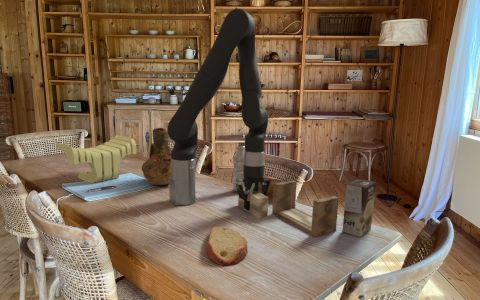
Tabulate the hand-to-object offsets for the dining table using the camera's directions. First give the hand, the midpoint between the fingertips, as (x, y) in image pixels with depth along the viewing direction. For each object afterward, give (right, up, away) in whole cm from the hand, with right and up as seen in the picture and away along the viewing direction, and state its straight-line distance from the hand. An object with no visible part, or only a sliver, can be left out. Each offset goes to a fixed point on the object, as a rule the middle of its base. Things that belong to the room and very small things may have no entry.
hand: (252, 208), depth 133 cm
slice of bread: (-9, -7, -29) cm, 31 cm away
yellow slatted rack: (-70, +8, +36) cm, 79 cm away
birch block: (0, -1, 0) cm, 1 cm away
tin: (+8, +2, +16) cm, 17 cm away
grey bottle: (-5, +3, +22) cm, 22 cm away
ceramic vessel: (-39, +6, +29) cm, 49 cm away
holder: (+17, -3, -9) cm, 19 cm away
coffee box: (+33, -5, -15) cm, 37 cm away
